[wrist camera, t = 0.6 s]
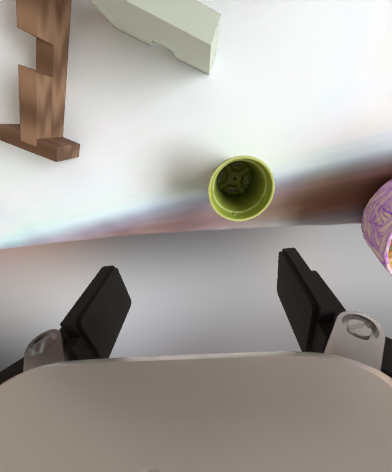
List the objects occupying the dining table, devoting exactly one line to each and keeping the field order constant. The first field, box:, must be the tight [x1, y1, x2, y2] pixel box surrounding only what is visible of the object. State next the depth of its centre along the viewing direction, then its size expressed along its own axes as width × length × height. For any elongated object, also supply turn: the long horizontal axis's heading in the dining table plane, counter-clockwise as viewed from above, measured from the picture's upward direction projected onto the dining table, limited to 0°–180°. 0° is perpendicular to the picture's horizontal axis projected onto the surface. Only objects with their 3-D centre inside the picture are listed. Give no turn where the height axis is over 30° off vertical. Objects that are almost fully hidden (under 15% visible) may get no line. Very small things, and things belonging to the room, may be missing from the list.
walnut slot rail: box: [0, 0, 80, 162], centre depth 27 cm, size 24×8×6 cm, turn 158°
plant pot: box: [208, 156, 275, 221], centre depth 32 cm, size 9×9×9 cm
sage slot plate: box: [90, 0, 221, 74], centre depth 22 cm, size 2×14×12 cm, turn 68°
